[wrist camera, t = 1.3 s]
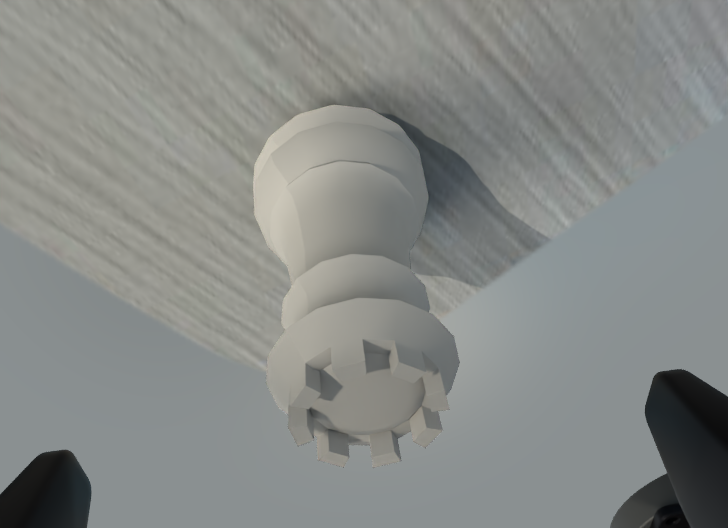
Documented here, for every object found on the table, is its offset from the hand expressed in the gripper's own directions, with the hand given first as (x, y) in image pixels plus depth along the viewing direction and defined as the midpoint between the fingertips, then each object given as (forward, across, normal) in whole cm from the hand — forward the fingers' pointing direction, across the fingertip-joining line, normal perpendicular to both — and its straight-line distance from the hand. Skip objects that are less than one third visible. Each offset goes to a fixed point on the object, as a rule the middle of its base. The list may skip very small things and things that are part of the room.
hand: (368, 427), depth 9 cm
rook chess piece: (+8, 0, 0) cm, 8 cm away
